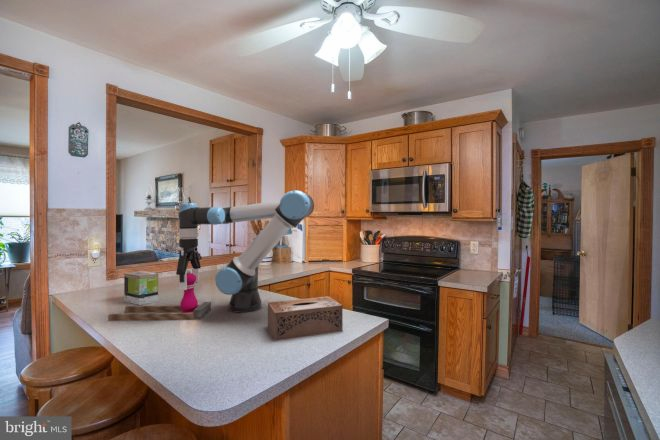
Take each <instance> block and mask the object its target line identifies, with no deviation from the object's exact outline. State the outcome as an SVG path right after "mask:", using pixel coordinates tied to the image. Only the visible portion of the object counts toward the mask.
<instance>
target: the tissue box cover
mask: <svg viewBox="0 0 660 440" xmlns="http://www.w3.org/2000/svg"><path fill="white" fill-rule="evenodd" d="M343 310H344V309H343V304H341V302H340V303H339V301H337V300H335V299H333V298H332V297H330V296H327V295H326V296H317V297H309V298H300V299H289V300H278V301H269V302H267V329H268V330H269V332H270V334H271V335H272V338H273V339H274V341H283V340H287V339H289V340H290V339H296V338H301V337H308V336H315V335H323V334H324V335H325V334H330V333H336V332H337V333H338V332H343ZM329 332H330V333H329Z"/></svg>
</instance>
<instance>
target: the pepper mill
mask: <svg viewBox="0 0 660 440" xmlns="http://www.w3.org/2000/svg"><path fill="white" fill-rule="evenodd" d="M185 274H186V279H187V290H183V296H182V299H180V300H181V301H180V304H179V305H180V308H181V309H182V310H183V311H182V312H180V313H194V309H196V308H197V306H198V305H199V303H198V299H197V297H196V295H195V287H196V283H195V281H196V276H195V275H194V274H192V269H191V270H190V269H186V273H185Z"/></svg>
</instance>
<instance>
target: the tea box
mask: <svg viewBox="0 0 660 440" xmlns="http://www.w3.org/2000/svg"><path fill="white" fill-rule="evenodd" d="M123 277H124V280H123V281H124V282H123V283H124V292H123V293H124V302H126V303H129V304H134V305H136V306H144V305H148V304H152V303H157V302H158V301H159V273H158V272H153V271H145V270H139V271H132V272H126V273H124V275H123Z"/></svg>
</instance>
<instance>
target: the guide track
mask: <svg viewBox="0 0 660 440" xmlns="http://www.w3.org/2000/svg"><path fill="white" fill-rule="evenodd" d="M182 311H183V310H182V309H181V308H180V304H177V305H173V304H172V305H127V306H124V313H110V314H109V313H108V315H107V321H108V322H115V321H118V322H120V321H123V322H124V321H127V322H128V321H181V320H182V321H185V320H186V321H187V320H188V321H189V320H190V321H191V320H193V321H194V320H199V321H200V320H202V319H204V318H205V316H207V315H208V314H209V313H210V312H211V311H212V301H204V302H202V303H201V304H198V306H197V308H196V309H194V313H181V312H182Z"/></svg>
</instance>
